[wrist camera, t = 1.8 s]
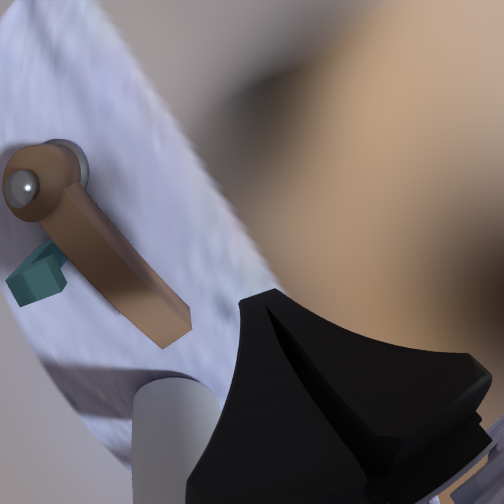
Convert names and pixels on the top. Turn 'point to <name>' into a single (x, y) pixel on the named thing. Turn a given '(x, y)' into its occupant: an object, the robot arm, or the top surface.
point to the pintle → (27, 182)
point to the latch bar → (97, 244)
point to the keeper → (38, 275)
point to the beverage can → (169, 437)
